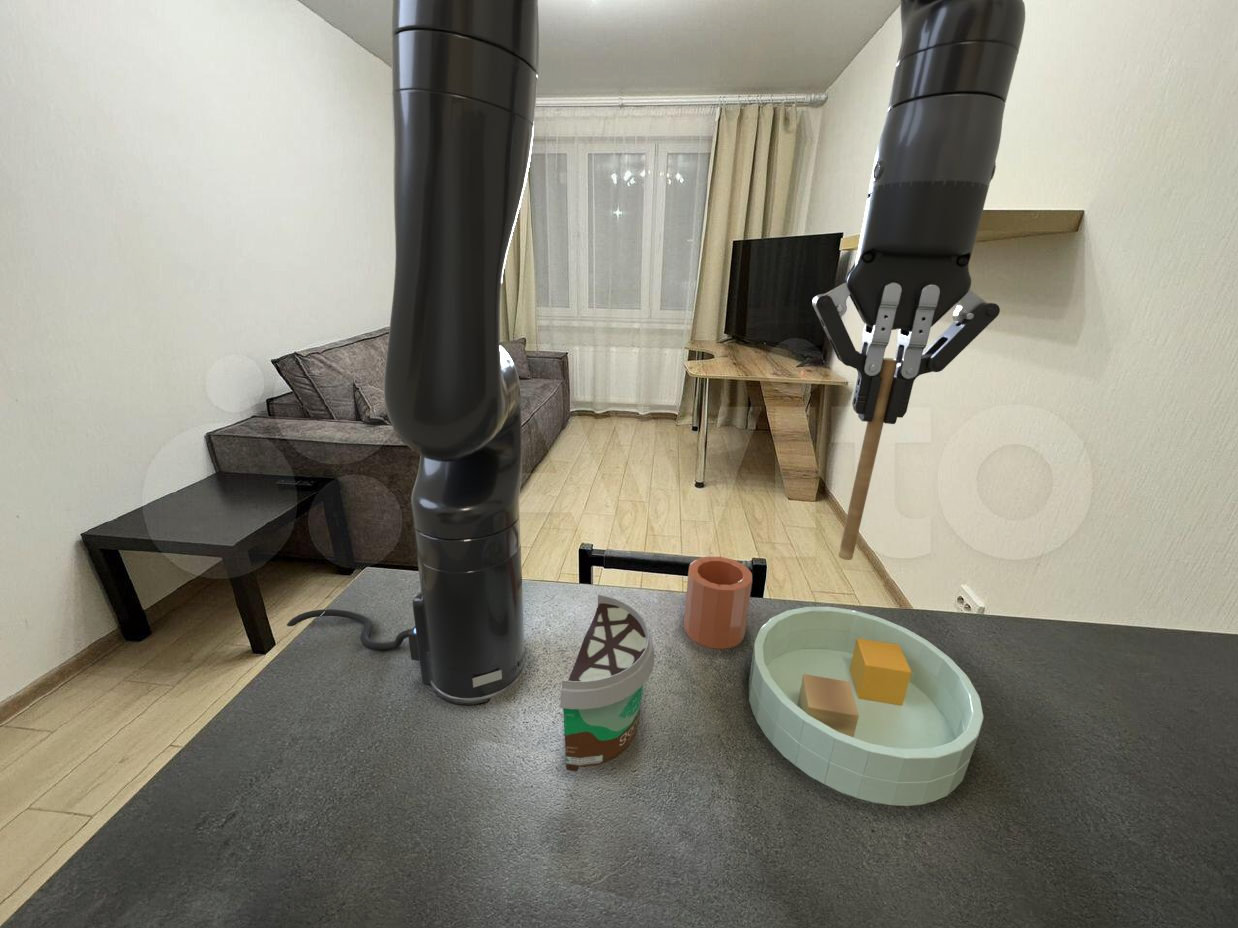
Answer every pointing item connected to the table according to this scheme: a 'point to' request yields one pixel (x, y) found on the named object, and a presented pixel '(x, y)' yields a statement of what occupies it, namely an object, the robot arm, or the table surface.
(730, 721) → the table surface
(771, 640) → the bowl
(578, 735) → the food container
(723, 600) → the cup
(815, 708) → the pine block
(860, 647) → the mustard block
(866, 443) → the stirring stick
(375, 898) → the table surface
